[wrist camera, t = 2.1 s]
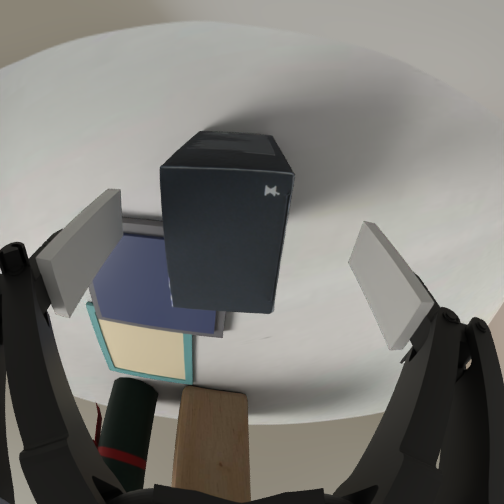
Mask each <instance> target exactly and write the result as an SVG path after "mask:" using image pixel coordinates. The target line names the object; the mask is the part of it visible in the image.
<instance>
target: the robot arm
mask: <svg viewBox="0 0 504 504" xmlns="http://www.w3.org/2000/svg"><path fill="white" fill-rule="evenodd" d="M122 236H123V224H122V209H121V189H107V190H106V191H105V192H104V193H102V194H101V195H100V196H99V197H98V198H97V199H95V200H94V201H93V202H92V203H91V204H90V205H89V206H87V207H86V208H85V209H84V210H83V211H82V212H81V213H80V214H79V215H77V216H76V217H75V218H74V219H73V220H72V221H71V222H70V223H69V224H68V225H67V226H66V227H65V228H64V229H61V230H59V231H57V232H55V233H54V234H52V235H51V236H50V237H49V238H48V239H47V241H45V242H44V243H43V244H42V246H41V247H40V248H39V249H38V250H37V251H36V252H35V253H34V254H33V255H32V256H31V257H30V258H29V259H28V256H27V252H26V249H25V246H24V244H23V243H21V242H14V243H10V244H8V245H6V246H4V247H3V248H2V249H1V250H0V268H1V271H2V274H0V504H15V500H14V489H13V483H12V477H11V470H10V464H9V457H8V448H7V438H6V422H5V384H6V371H7V377H8V384H9V389H10V395H11V399H12V404H13V409H14V413H15V417H16V421H17V424H18V428H19V431H20V435H21V438H22V441H23V445H24V450H23V451H22V452H21V453H20V455H19V460H20V464H21V467H22V470H23V473H24V475H25V478H26V480H27V483H28V485H29V487H30V490H31V492H32V494H33V496H34V498H35V501H36V503H37V504H504V383H503V378H502V374H501V369H500V364H499V360H498V357H497V352H496V349H495V345H494V342H493V338H492V335H491V332H490V329H489V327H488V326H487V324H486V322H485V321H483V320H482V319H479V318H477V317H473V318H472V319H471V321H470V322H469V324H468V325H466V324H463V323H460V319H459V318H458V316H457V315H456V314H455V313H454V312H453V311H452V310H450V309H448V308H445V307H441V308H440V306H439V305H438V303H437V302H436V300H435V299H434V297H433V296H432V295H431V293H430V292H429V291H428V289H427V287H426V286H425V285H424V283H423V282H422V280H421V279H420V278H419V276H417V275H416V274H415V273H414V272H413V271H412V270H411V268H410V267H409V266H408V264H407V263H406V262H405V260H404V259H403V258H402V256H401V255H400V254H399V253H398V251H397V250H396V249H395V247H394V246H393V245H392V244H391V242H390V241H389V240H388V239H387V237H386V236H385V235H384V234H383V233H382V231H381V230H380V229H379V228H378V226H377V225H376V224H375V223H371V222H365V221H363V224H362V227H361V230H360V232H359V235H358V238H357V241H356V243H355V246H354V249H353V251H352V254H351V256H350V259H349V262H348V263H349V265H350V267H351V269H352V271H353V273H354V275H355V277H356V279H357V281H358V283H359V285H360V287H361V289H362V291H363V293H364V295H365V297H366V299H367V301H368V303H369V305H370V308H371V310H372V312H373V314H374V316H375V318H376V321H377V323H378V325H379V327H380V330H381V332H382V334H383V336H384V339H385V341H386V343H387V346H388V348H389V350H401V349H403V348H404V347H405V346H406V344H407V343H408V341H409V340H410V341H411V343H412V345H413V346H412V347H411V349H410V350H409V351H408V353H407V354H406V355H405V356H404V358H403V359H402V360H401V362H400V363H401V364H402V363H403V362H404V361H405V363H404V366H403V369H402V372H401V374H400V377H399V379H398V382H397V385H396V387H395V390H394V392H393V394H392V397H391V399H390V402H389V404H388V406H387V408H386V411H385V413H384V415H383V417H382V419H381V422H380V424H379V426H378V428H377V430H376V432H375V434H374V435H373V437H372V439H371V441H370V443H369V445H368V447H367V449H366V451H365V452H364V454H363V456H362V458H361V459H360V461H359V463H358V464H357V466H356V468H355V469H354V471H353V473H352V474H351V475H350V477H349V478H348V479H347V480H346V481H345V482H344V483H342V484H341V485H340V486H339V487H338V488H337V490H336V491H335V492H334V493H333V495H329V494H324V490H323V488H321V489H314V490H306V491H297V492H285V493H281V494H278V495H274V496H270V497H266V498H262V499H258V500H254V501H249V502H244V503H240V502H235V501H231V500H227V499H223V498H219V497H216V496H212V495H209V494H206V493H203V492H200V491H197V490H188V489H181V488H175V487H169V486H163V485H158V484H154V488H148V489H139V490H135V491H130V492H127V493H126V491H125V490H124V488H123V487H122V485H121V484H120V482H119V481H118V479H117V478H116V476H115V475H114V474H113V472H112V471H111V470H110V469H109V468H108V466H107V465H106V464H105V462H104V461H103V459H102V457H101V455H100V453H99V452H98V450H97V448H96V446H95V444H94V442H93V440H92V438H91V436H90V434H89V432H88V430H87V428H86V425H85V423H84V421H83V419H82V417H81V414H80V412H79V410H78V407H77V405H76V402H75V400H74V397H73V395H72V392H71V389H70V386H69V384H68V381H67V378H66V375H65V372H64V369H63V366H62V363H61V359H60V356H59V353H58V349H57V345H56V342H55V338H54V334H53V330H52V325H51V321H50V316H49V314H48V312H47V309H48V307H49V306H50V304H51V305H52V307H53V310H54V312H55V314H56V315H60V316H63V317H67V318H70V317H71V315H72V313H73V311H74V310H75V308H76V306H77V305H78V303H79V301H80V300H81V298H82V296H83V295H84V293H85V291H86V290H87V288H88V287H89V285H90V283H91V282H92V280H93V279H94V277H95V276H96V274H97V273H98V271H99V270H100V268H101V267H102V265H103V264H104V262H105V261H106V259H107V258H108V256H109V255H110V253H111V252H112V250H113V249H114V248H115V246H116V245H117V243H118V242H119V241H120V239H121V238H122ZM470 359H472V362H471V365H470V367H469V368H468V369H466V364H467V363H468V362H469V361H470ZM440 449H441V453H440ZM439 453H440V463H439V469H437V468H436V462H437V459H438V456H439Z"/></svg>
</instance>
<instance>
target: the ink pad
mask: <svg viewBox="0 0 504 504" xmlns="http://www.w3.org/2000/svg"><path fill="white" fill-rule="evenodd" d="M122 224H123V236H122V238H121V239H120V241H119V242H118V243H117V245H116V246H115V248H114V249H113V250H112V252H111V253H110V255H109V256H108V258H107V259H106V261H105V262H104V264H103V265H102V267H101V268H100V270H99V271H98V273H97V274H96V276H95V277H94V279H93V280H92V282H91V283H90V285H89V291H90V294H91V298H92V302H93V305H94V309H95V312H96V315H97V318H98V319H101V320H106V321H111V322H116V323H121V324H126V325H132V326H137V327H143V328H149V329H155V330H162V331H169V332H176V333H183V334H191V335H199V336H208V337H217V338H223V330H224V322H225V315H226V311H211V310H197V309H186V308H176V307H173V306H172V302H171V293H170V286H169V278H168V271H167V262H166V253H165V242H164V231H163V221H155V220H145V219H135V218H125V217H122Z"/></svg>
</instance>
